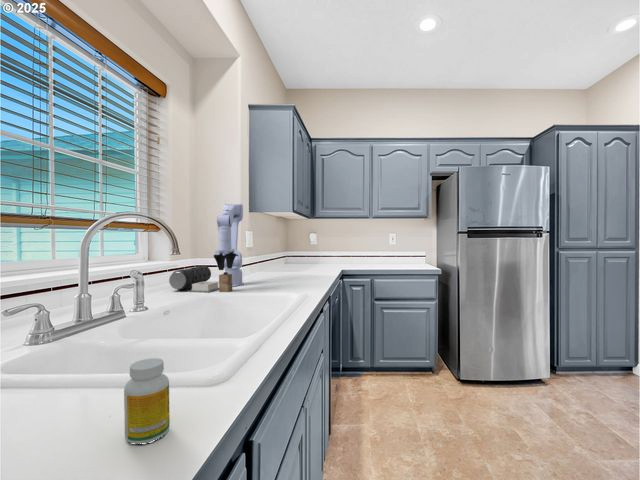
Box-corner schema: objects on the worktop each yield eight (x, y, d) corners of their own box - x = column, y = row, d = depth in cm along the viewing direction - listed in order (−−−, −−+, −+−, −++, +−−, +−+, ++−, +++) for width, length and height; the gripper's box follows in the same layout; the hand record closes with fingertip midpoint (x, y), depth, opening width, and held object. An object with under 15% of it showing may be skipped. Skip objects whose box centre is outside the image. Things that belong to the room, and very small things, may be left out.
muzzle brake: (211, 283, 187) (211, 265, 187) (187, 292, 159) (186, 270, 159) (195, 283, 188) (194, 265, 188) (167, 292, 160) (167, 270, 160)
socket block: (202, 288, 170) (202, 281, 169) (220, 289, 167) (220, 281, 167) (189, 291, 160) (189, 284, 160) (208, 292, 157) (208, 284, 157)
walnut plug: (224, 290, 163) (223, 271, 163) (232, 290, 162) (232, 271, 162) (219, 291, 159) (218, 272, 159) (227, 292, 158) (227, 272, 158)
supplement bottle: (119, 435, 45) (117, 363, 45) (160, 419, 49) (159, 353, 49) (133, 452, 42) (132, 375, 41) (176, 433, 46) (175, 362, 45)
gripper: (224, 240, 152) (225, 271, 152) (240, 240, 166) (240, 267, 166) (210, 240, 154) (211, 270, 154) (227, 240, 168) (227, 267, 168)
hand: (225, 269), depth 160 cm, fingers open, 7 cm apart
